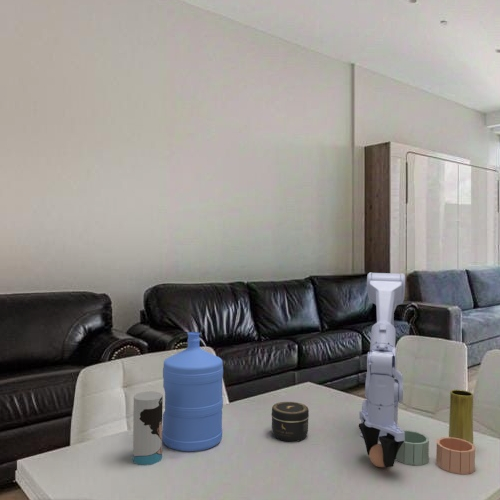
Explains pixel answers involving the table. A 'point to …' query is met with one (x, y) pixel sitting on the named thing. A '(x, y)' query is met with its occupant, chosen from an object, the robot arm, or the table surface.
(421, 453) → the green faceted bowl
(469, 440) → the vase
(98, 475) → the table surface
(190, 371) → the water jug
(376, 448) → the ball
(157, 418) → the white printed cylinder
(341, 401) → the table surface
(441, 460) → the salmon slatted bowl
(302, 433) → the jar
